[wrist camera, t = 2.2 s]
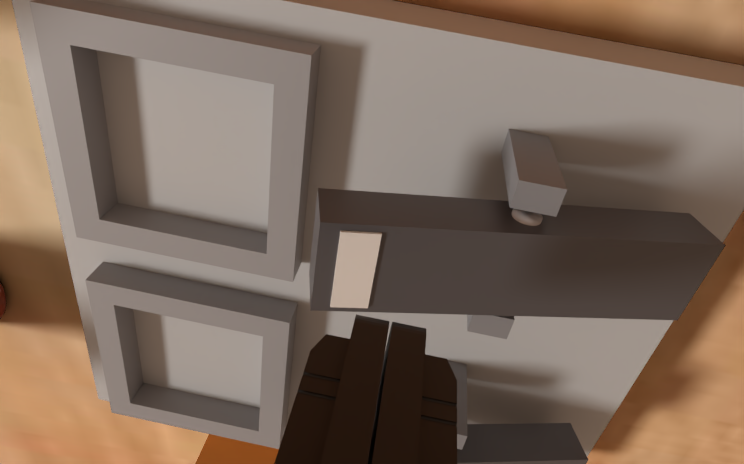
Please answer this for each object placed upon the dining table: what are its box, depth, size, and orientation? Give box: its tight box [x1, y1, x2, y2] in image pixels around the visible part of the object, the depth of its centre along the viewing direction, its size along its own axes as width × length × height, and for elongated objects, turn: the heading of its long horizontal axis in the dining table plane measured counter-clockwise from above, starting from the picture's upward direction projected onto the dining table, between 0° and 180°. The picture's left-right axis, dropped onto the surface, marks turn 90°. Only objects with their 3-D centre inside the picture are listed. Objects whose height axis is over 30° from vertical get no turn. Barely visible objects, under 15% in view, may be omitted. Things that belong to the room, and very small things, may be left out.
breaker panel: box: [12, 0, 744, 456], centre depth 20 cm, size 23×20×6 cm
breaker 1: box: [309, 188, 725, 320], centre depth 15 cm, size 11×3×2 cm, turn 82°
